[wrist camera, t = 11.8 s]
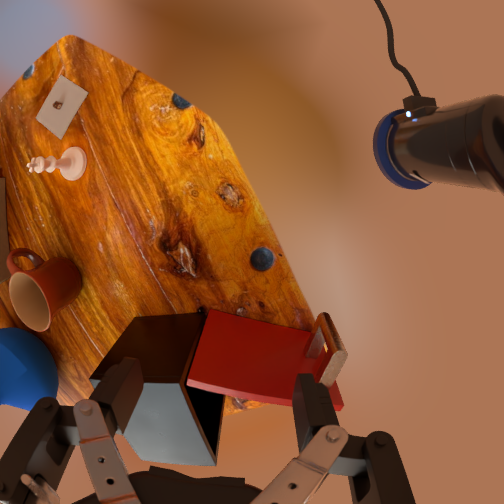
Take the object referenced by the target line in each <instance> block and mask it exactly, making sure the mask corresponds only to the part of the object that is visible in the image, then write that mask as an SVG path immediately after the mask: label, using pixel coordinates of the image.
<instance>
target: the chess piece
mask: <svg viewBox="0 0 504 504" xmlns="http://www.w3.org/2000/svg"><path fill="white" fill-rule="evenodd" d="M86 164H87V158H86V154H85V152H84V151H83V150H82V149H81V148H80V147H71V148H68V149H67V150H66V151H65V152H64V153H63V155H62V157H61V159H58V160H56V159H55V157H54V156H49V157H48V158H47V159H45V158H43V157H41V156H39V157H37V158H32V160H31V163H28V164H27V167H30V170H29V172H34V170H35V171H36V172H37V173H40V172H42V171H44V170H46V171H47V172H53V171H54V169H55V168H59V169H60V171H61V174H62V176H63V177H64V178H65V179H67V180H77V179H79V178H80V177H81V176H82V175H83V173H84V171H85V169H86Z"/></svg>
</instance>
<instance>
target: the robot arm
mask: <svg viewBox="0 0 504 504" xmlns="http://www.w3.org/2000/svg"><path fill="white" fill-rule="evenodd" d="M374 1H375V3H376V4H377V6H378V8H379V10H380V12H381V14H382V16H383V18H384V21H385V24H386V28H387V37H388V53H389V57H390V60H391V62H392V64H393V66H394V67H395V68H396V69H398V70H399V71H401V72H402V73H403V75H404V76H405V77H406V79H407V81H408V83H409V85H410V87H411V89H412V92H413V94H414V96H412V95H411V96H409V97H407V98H405V99H403V104H404V110H405V113H403V114H400V115H397V116H394V117H391V126H390V128H389V129H388V132H387V135H386V140H385V147H386V153H387V157H388V160H389V162H390V164H391V165H392V167H393V168H394V170H395V171H396V172H397V173H398V174H399V175H400V176H402V177H403V178H405V179H408V180H411V181H423V182H424V183H427V184H430V183H428V182H436V183H443V184H450V185H458V186H464V187H471V188H477V189H483V190H489V191H494V192H500V193H501V194H503V195H504V96H502V95H497V94H493V95H487V96H482V97H478V98H474V99H470V100H466V101H462V102H458V103H454V104H450V105H447V106H443V107H437V106H436V101H435V98H429V97H421V95H420V93H419V91H418V88H417V86H416V84H415V82H414V80H413V78H412V76H411V75H410V73H409V72H408V70H407V69H406V68H405V67H403V66H402V65H400V64H399V63H398V62H397V60H396V57H395V53H394V39H393V29H392V25H391V22H390V19H389V17H388V15H387V12H386V10H385V8H384V6H383V5H382V3H381V1H380V0H374ZM143 387H144V381H143V376H142V371H141V365H140V361H139V359H136V358H130V357H124V358H123V359H122V361H121V362H120V364H119V365H118V364H114V365H113V366H111V367H110V368H108V370H107V371H106V373H105V374H104V377H102V379H101V380H100V382H99V383H98V385H97V386H96V388H95V389H94V391H93V392H92V394H91V396H90V397H89V399H84V400H81V401H79V402H77V403H76V404H75V406H62V405H59V403H58V401H57V400H56V399H55V398H53V397H43V398H41V399H39V400H38V401H37V402H36V404H35V405H34V407H33V408H32V410H31V411H30V413H29V414H28V416H27V417H26V419H25V420H24V422H23V423H22V425H21V426H20V428H19V430H18V431H17V433H16V434H15V436H14V437H13V439H12V441H11V442H10V444H9V446H8V448H7V449H6V451H5V452H4V454H3V456H2V458H1V459H0V503H1V504H60V499H59V496H58V494H57V493H56V490H57V488H58V485H59V483H60V480H61V478H62V475H63V473H64V470H65V468H66V466H67V464H68V461H69V459H70V457H71V454H72V452H73V450H74V448H75V446H76V445H80V448H81V452H82V455H83V458H84V461H85V464H86V467H87V470H88V473H89V476H90V479H91V482H92V484H93V487H94V489H95V493H93V494H91V495H89V496H87V497H85V498H83V499H81V500H78V501H76V502H74V503H72V504H308V502H309V501H310V499H311V498H312V497H313V496H314V494H315V493H316V492H317V490H318V489H319V488H320V486H321V485H322V483H323V482H324V480H325V479H326V477H327V476H328V475H329V473H330V474H337V475H345V476H348V479H349V484H350V490H351V495H352V501H353V504H416V503H415V500H414V496H413V494H412V490H411V487H410V484H409V481H408V478H407V475H406V472H405V469H404V466H403V463H402V460H401V458H400V455H399V452H398V449H397V446H396V444H395V441H394V439H393V437H392V436H391V435H390V434H388V433H386V432H383V431H375V432H372V433H371V434H369V435H368V436H367V437H359V436H352V435H349V434H348V433H347V432H346V430H345V429H343V428H342V427H340V425H339V422H338V419H337V416H336V413H335V409H334V406H333V404H332V400H331V398H330V397H331V396H330V393H329V390H328V388H327V387H326V386H325V385H324V384H323V383H315V380H314V376H313V374H312V373H298V374H297V376H296V381H295V386H294V391H293V396H292V407H293V414H294V420H295V427H296V434H297V440H298V447H299V456H298V457H297V458H293V459H292V460H291V461H290V462H289V463H288V464H287V466H286V467H285V468H284V469H283V470H282V471H281V472H280V473H279V474H278V475H277V477H276V478H275V479H274V480H273V481H272V482H271V483H270V484H269V485H268V486H267V487H266V488H265V489H264V490H261V489H259V488H257V487H255V486H252V485H249V484H245V478H234V477H222V476H220V477H210V478H192V477H189V476H187V475H184V474H182V473H179V472H176V471H174V470H170V469H165V468H160V467H155V466H150V469H149V471H141V472H135V473H132V474H129V472H128V470H127V468H126V466H125V464H124V462H123V460H122V458H121V456H120V453H119V451H118V448H117V446H116V444H115V441H114V439H113V437H114V435H115V433H116V434H120V435H123V434H124V432H125V429H126V427H127V425H128V422H129V420H130V418H131V416H132V413H133V411H134V409H135V407H136V405H137V402H138V400H139V398H140V396H141V394H142V391H143Z"/></svg>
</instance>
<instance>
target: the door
mask: <svg viewBox="0 0 504 504" xmlns="http://www.w3.org/2000/svg"><path fill="white" fill-rule="evenodd" d="M325 342H326V345H327V348H328V350H327V353H326V351H325V348H324V343H325ZM346 359H347V352H346V349H345V347H344V345H343V343H342V341H341V339H340V336H339V334H338V332H337V330H336V328H335V326H334V324H333V322H332V320H331V317H330V315H329V314H328V313H326V312H323V313H320V314H319V315H318V317H317V319H316V322H315V324H314V327H313V329H312V331H311V332H308V331H303V330H298V329H293V328H288V327H284V326H279V325H275V324H270V323H266V322H262V321H257V320H253V319H249V318H245V317H241V316H236V315H232V314H229V313H225V312H221V311H217V310H213V309H210V310H209V313H208V316H207V319H206V322H205V325H204V328H203V332H202V335H201V338H200V341H199V344H198V347H197V350H196V353H195V356H194V360H193V363H192V366H191V369H190V372H189V375H188V379H187V384H186V385H187V386H191V387H195V388H199V389H202V390H206V391H211V392H215V393H219V394H223V395H228V396H233V397H238V398H242V399H248V400H253V401H259V402H264V403H271V404H277V405H285V406H292V396H293V391H294V386H295V381H296V376H297V374H298V373H312V374H313V376H314V380H315V383H323V384H324V385H325V386H326V387H327V388H328V390H329V393H330V396H331V397H330V398H331V400H332V404H333V406H334V409H335V411H341V409H342V408H343V406H344V403H343V401H342V397H341V394H340V392H339V389H338V386H337V383H336V380H335V379H336V377H337V376H338V374H339V372H340V370H341V368H342V366H343V364H344V363H345V361H346Z"/></svg>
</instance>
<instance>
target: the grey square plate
mask: <svg viewBox="0 0 504 504" xmlns="http://www.w3.org/2000/svg"><path fill="white" fill-rule="evenodd" d="M87 94H88V92H87V91H85V90H83V89H82V88H80V87H79V86H77V85H76V84H74V83H73V82H71V81H70V80H68V79H66V78H65V77H63V76H62V75H60V77H59V78H58V80H57V81H56V83H55V85H54V86H53V88H52V90H51V91H50V93H49V95H48V97H47V98H46V100H45V102H44V104H43V106H42V108H41V109H40V111H39V113H38V115H37V117H36V119H37V120H38V121H39V122H40V123H42V124H43V125H44V126H45V127H46V128H48V129H49V130H50V131H51V132H52V133H53V134H55V135H56V136H57V137H58V138H59V139H62V137H63V135H64V133H65V132H66V130H67V128H68V126H69V124H70V123H71V121H72V119H73V117H74V116H75V114H76V112H77V110H78V109H79V107H80V106H81V104H82V102H83V101H84V99H85V98H86V96H87Z"/></svg>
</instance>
